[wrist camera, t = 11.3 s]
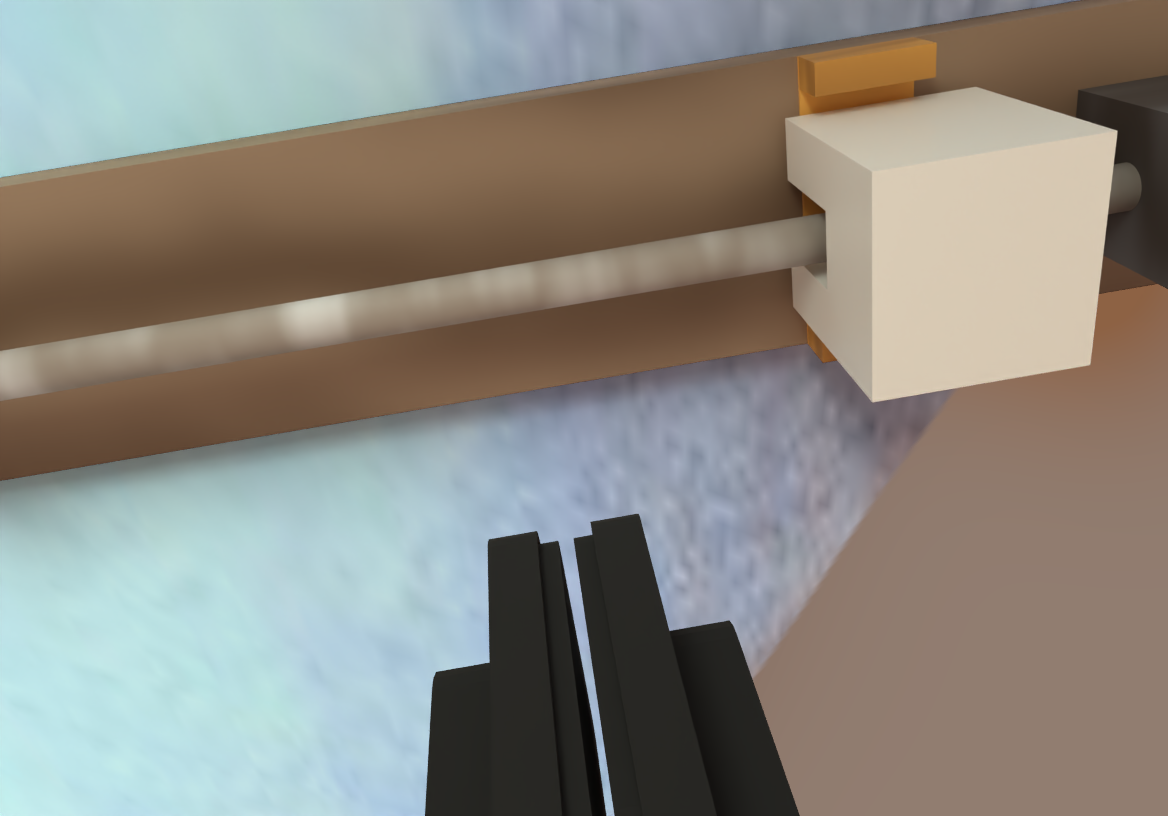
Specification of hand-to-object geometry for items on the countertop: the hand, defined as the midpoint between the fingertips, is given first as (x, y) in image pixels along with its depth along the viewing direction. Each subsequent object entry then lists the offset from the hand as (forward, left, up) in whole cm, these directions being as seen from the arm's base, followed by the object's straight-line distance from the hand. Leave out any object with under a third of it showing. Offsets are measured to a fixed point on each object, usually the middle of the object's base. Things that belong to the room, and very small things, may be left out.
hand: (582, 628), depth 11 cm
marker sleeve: (+1, +10, -16) cm, 19 cm away
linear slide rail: (+1, 0, -18) cm, 18 cm away
